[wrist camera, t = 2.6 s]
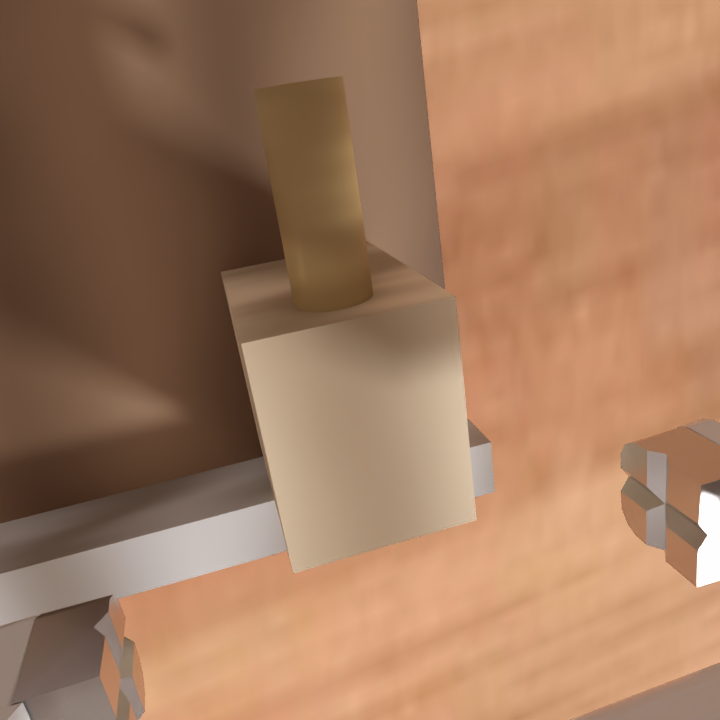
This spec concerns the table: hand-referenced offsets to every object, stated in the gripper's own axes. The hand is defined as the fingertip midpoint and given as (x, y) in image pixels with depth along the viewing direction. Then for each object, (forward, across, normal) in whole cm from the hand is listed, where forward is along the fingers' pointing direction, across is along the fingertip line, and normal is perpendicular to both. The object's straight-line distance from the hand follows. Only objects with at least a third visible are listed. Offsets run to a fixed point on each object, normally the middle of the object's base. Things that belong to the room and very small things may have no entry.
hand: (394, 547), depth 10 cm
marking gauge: (+9, -1, -2) cm, 9 cm away
